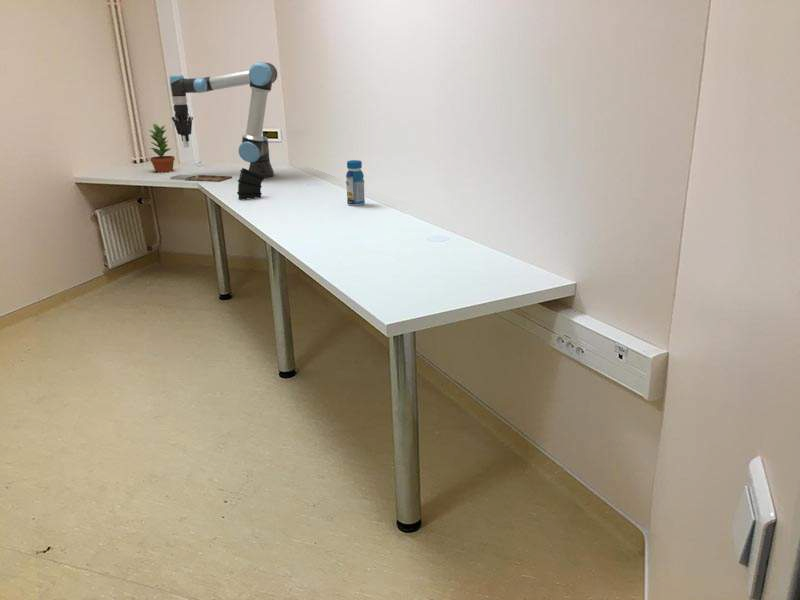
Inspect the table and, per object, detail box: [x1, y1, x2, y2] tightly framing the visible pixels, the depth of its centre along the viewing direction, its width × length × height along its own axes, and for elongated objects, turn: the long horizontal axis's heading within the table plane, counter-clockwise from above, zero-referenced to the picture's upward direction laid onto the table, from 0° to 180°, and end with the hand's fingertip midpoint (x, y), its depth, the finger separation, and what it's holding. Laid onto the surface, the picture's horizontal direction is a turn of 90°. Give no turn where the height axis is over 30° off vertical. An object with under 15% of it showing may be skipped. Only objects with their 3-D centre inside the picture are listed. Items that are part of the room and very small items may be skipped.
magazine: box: [237, 167, 265, 200], centre depth 308 cm, size 4×13×15 cm, turn 124°
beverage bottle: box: [345, 159, 366, 207], centre depth 287 cm, size 8×8×20 cm
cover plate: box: [169, 174, 197, 181], centre depth 364 cm, size 11×9×2 cm
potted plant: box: [148, 123, 175, 173], centre depth 390 cm, size 15×15×30 cm
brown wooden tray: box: [184, 174, 233, 183], centre depth 359 cm, size 23×13×2 cm, turn 71°
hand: (186, 147), depth 356 cm, fingers closed
